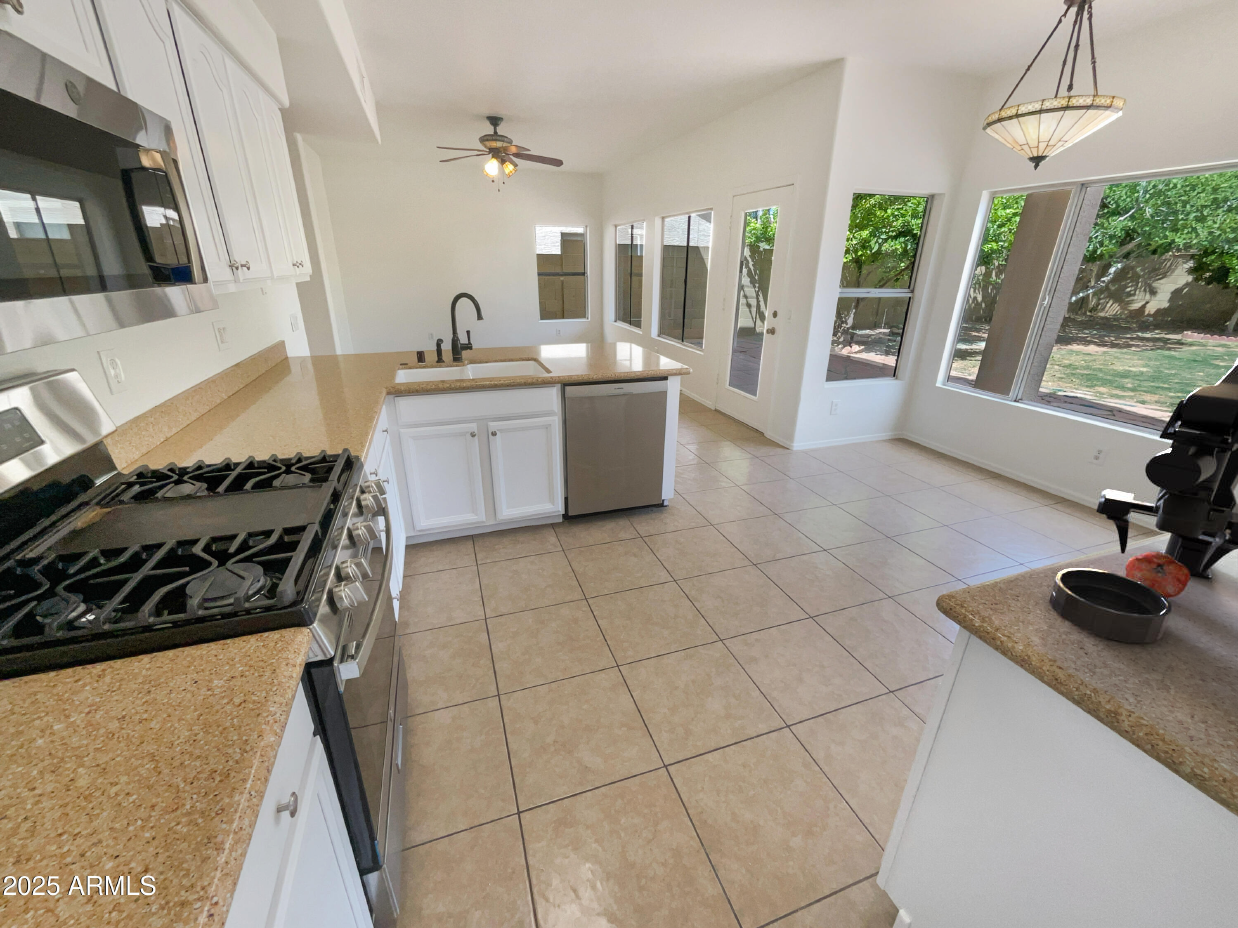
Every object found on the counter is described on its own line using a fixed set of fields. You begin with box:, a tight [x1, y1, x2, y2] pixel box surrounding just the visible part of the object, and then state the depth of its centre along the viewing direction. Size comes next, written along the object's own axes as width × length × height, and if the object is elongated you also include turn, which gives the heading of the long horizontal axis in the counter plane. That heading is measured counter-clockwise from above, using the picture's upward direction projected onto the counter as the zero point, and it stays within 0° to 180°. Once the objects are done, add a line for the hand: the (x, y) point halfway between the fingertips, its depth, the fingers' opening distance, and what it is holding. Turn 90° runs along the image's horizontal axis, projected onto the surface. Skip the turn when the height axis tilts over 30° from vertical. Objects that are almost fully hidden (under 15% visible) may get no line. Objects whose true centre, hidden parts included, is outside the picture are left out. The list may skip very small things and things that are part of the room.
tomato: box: [1125, 551, 1191, 599], centre depth 85 cm, size 7×7×10 cm
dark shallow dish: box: [1048, 567, 1173, 644], centre depth 80 cm, size 13×13×5 cm
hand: (1160, 561), depth 84 cm, fingers open, 9 cm apart
